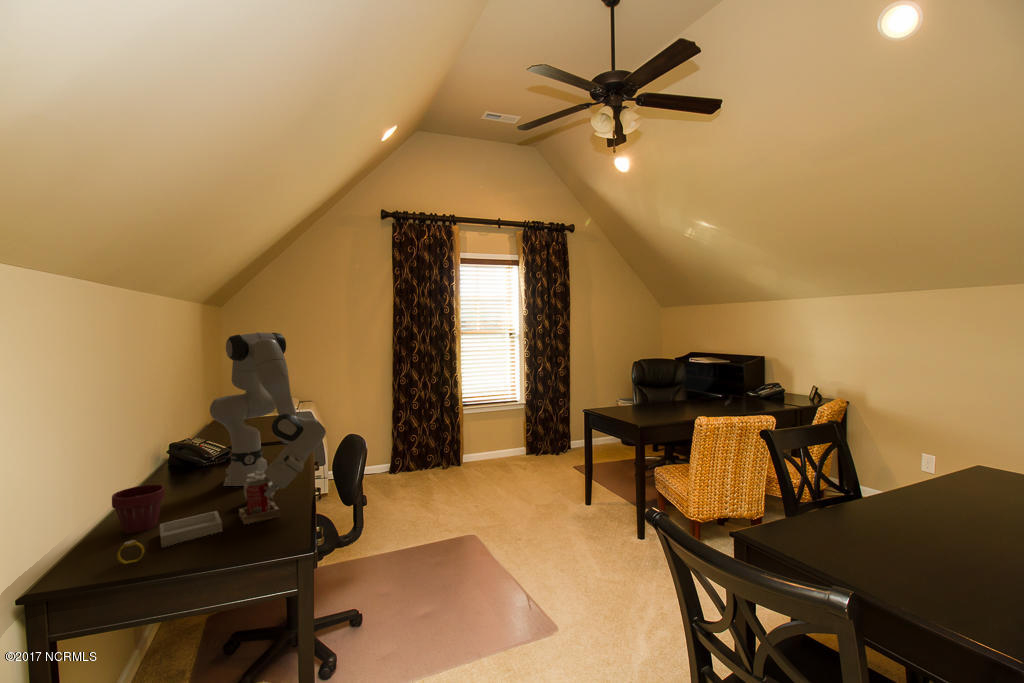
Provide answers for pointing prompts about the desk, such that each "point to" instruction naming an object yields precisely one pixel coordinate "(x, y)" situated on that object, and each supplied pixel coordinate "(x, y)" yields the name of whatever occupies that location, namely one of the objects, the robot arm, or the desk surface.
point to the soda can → (257, 497)
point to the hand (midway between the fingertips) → (262, 492)
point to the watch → (126, 544)
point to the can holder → (259, 514)
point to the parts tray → (189, 528)
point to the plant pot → (138, 507)
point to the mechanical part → (257, 477)
